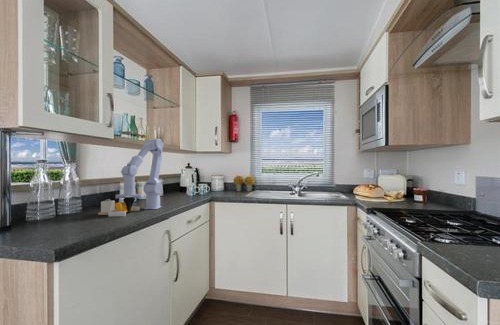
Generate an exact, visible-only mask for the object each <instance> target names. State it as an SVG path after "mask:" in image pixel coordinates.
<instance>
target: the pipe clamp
mask: <svg viewBox="0 0 500 325" xmlns="http://www.w3.org/2000/svg"><path fill="white" fill-rule="evenodd" d="M115 210H117V211H126V213H128V212H129V211H128V210H127V206H126V204H125V202H124V201H123V203H122V201H118V202H115ZM131 210H132V208H131Z"/></svg>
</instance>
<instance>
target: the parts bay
mask: <svg viewBox="0 0 500 325" xmlns="http://www.w3.org/2000/svg"><path fill="white" fill-rule="evenodd" d="M140 208H141V207H140V205H139V206H137V205H136V206H132V210H131V211H130V212H139V211H140ZM126 216H127V212H126V211H117V210H116V209H115V210H113V211H110V212H108V217H111V218H112V217H126Z"/></svg>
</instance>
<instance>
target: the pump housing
mask: <svg viewBox="0 0 500 325" xmlns="http://www.w3.org/2000/svg"><path fill="white" fill-rule="evenodd" d="M115 203H116V201H115V200H111V199H110V198H107V199H105V200H103V201H100V212H97V216H102V215H103V216H104V215H106V216H107V215H108V212H110V211H113V210H116V207H115Z"/></svg>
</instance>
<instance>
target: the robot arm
mask: <svg viewBox="0 0 500 325" xmlns="http://www.w3.org/2000/svg"><path fill="white" fill-rule="evenodd" d="M163 149H164V142H163V141H162V139H160V138H155V139H146V140H145V142H144V143H143V146H142V148H141V149H140V150H139V152H138V153H137V155H134V156H132V157H131V159H130V160H129V162H128V163H127V165H125V166H123V167H122V169H121V171H120V173H121V175H122V179H123V194H121V193H120V194H115V199H122V200H123V201H124V202H125V204H126V206H127V210H128V212H132V211H131V208H132V207H133V203H134V202H135V200H136V199H143V197H144V196H143V193H140V194H139V193H136V191H135V190H136V187H135V186H136V184H135V183H136V177H135V176H136V175H137V174H138V169H139V168H140V166H141V164H143V162H144V160H143V159H144V158H145V156H146V155H147V154H148V153H149V152H150V153H151V154H152V162H151V165H150V166H151V167H150V173H149V178H148V179H147V180H146V181H145V183H144V186H143V188H142V189H143V192H144V194H145V195H146V197H145V198H146V199H145V201H146V203H145V204H146V207H145V208H143V210H158V209H160V208H162V205H161V196H160V193H161V192H162V182H161V181H160V179H159V178H160V171H161V166H162V159H163ZM124 202H123V203H124Z"/></svg>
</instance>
